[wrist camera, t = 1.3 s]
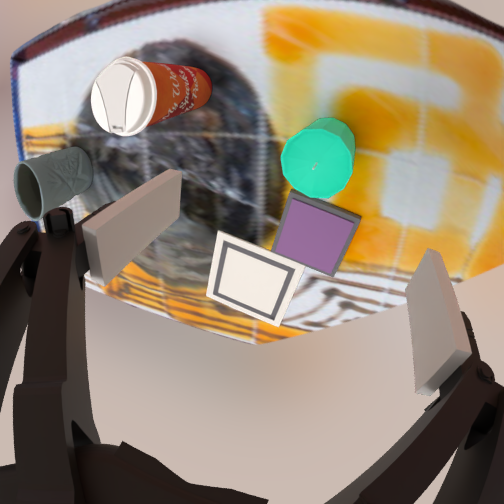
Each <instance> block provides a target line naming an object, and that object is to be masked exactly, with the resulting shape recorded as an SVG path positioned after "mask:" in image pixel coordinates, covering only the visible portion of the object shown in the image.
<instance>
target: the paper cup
mask: <svg viewBox="0 0 504 504" xmlns="http://www.w3.org/2000/svg"><path fill="white" fill-rule="evenodd" d="M211 93H212V83H211V79H210V77H209V76H208V74H207V73H206V72H204V71H203V70H201V69H198V68H194V67H188V66H181V65H173V64H163V63H152V62H141V61H139V60H137V59H134V58H131V57H122V58H119V59H117V60H115V61H113V63H111V64H110V65H109V66H108V67H107V68H106V69H104V70H103V71H102V72H101V74H100V75H99V76H98V78H97V79H96V81H95V83H94V85H93V89H92V95H91V105H92V110H93V114H94V116H95V119H96V120H97V122H98V124H99V125H100V126H101V127H102V128H103V129H104V130H106V131H108V132H110V133H115V134H118V135H121V136H131V135H134V134H137V133H138V132H140V131H141V130H143V129H144V128H145V127H148V126H150V125H153V124H156V123H158V122H161V121H163V120H166V119H168V118H171V117H174V116H177V115H180V114H183V113H186V112H189V111H192V110H195V109H197V108H199V107H201V106H203V105H204V104H205V103H206V102H207V101H208V100H209V98H210V96H211Z"/></svg>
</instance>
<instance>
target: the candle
mask: <svg viewBox="0 0 504 504" xmlns="http://www.w3.org/2000/svg"><path fill="white" fill-rule="evenodd" d="M354 156H355V139H354V134H353V133H352V132H351V130H350V129H349V127H348V126H347V124H345V123H343V122H341V121H339V120H337V119H335V118H320V119H318V120H317V121H315V122H313V123H312V124H310V125H309V126H307V127H306V128H304V129H303V130H302V131H300V132H299V133H297V134H296V135H294V136H293V137H292V138H290V139H289V140H287V142H286V145H285V147H284V150H283V152H282V155H281V163H282V169H283V175H284V176H285V177H286V179H287V180H288V181H289V182H290V184H291V185H292V186H293V187H294V189H296V190H298V191H299V192H301V193H303V194H305V195H307V196H309V197H310V198H330V197H331V196H333V195H335V194H336V193H338V192H340V191H341V190H343V189H344V188H345V186H346V184H347V182H348V180H349V178H350V177H351V175H352V172H353V164H354Z"/></svg>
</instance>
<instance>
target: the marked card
mask: <svg viewBox="0 0 504 504" xmlns="http://www.w3.org/2000/svg"><path fill="white" fill-rule="evenodd" d="M304 268H305V266H304V265H302V264H299V263H297V262H294V261H292V260H290V259H287V258H285V257H282V256H280V255H277V254H275V253H272V252H271V251H270V250H268V249H265V248H263V247H260V246H258V245H255V244H253V243H250V242H248V241H245V240H243V239H240V238H238V237H235V236H233V235H230V234H228V233H225V232H223V231H220V230H219V231H218V234H217V240H216V245H215V250H214V255H213V261H212V266H211V272H210V277H209V283H208V288H207V294H206V296H208V297H210V298H212V299H214V300H216V301H219V302H221V303H223V304H225V305H228V306H230V307H232V308H234V309H237V310H239V311H241V312H244V313H246V314H248V315H251V316H253V317H255V318H258V319H260V320H262V321H265V322H267V323H270V324H272V325H274V326H277V327H279V325H280V323H281V321H282V319H283V316H284V314H285V312H286V310H287V308H288V305H289V303H290V301H291V299H292V296H293V294H294V292H295V289H296V287H297V285H298V282H299V280H300V278H301V275H302V273H303V271H304Z"/></svg>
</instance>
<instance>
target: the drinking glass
mask: <svg viewBox="0 0 504 504" xmlns="http://www.w3.org/2000/svg"><path fill="white" fill-rule="evenodd" d="M92 179H93V169H92V164H91V161H90V159H89V157H88V155H87V154H86V152H85V151H84V150H83V149H81V148H79V147H70V148H66V149H63V150H59V151H55V152H53V153H52V152H51V153H49V154H45V155H41V156H39V157H38V158H31V159H28V160H24V161H21V162H19V163H18V164H17V166H16V167H15V171H14V188H15V192H16V197H17V199H18V202H19V204H20V206H21V208H22V210H23V211H24V213H25V214H26V215H27V216H28V217H29V218H30V219H32V220H33V221H38V220H40V219H42V218H43V216H44V214H45V213H47V212H48V211H49V210H52V209H54V208H58V207H59V206H60V205H63V204H64V203H66V202H67V201H69V200H71V199H72V198H73V197H74V196H75V195H78V194H80V193H82V192H83V191H85V190H86V189H88V188H89V186H90V185H91V183H92Z"/></svg>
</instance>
